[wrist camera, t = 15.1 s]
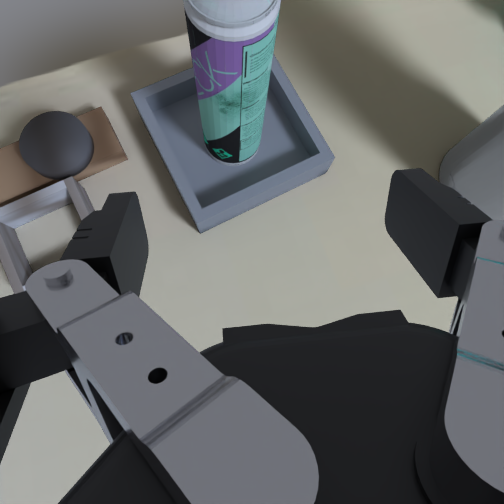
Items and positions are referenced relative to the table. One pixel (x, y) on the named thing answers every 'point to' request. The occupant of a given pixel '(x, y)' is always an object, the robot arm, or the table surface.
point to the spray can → (232, 72)
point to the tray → (222, 176)
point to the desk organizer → (50, 176)
